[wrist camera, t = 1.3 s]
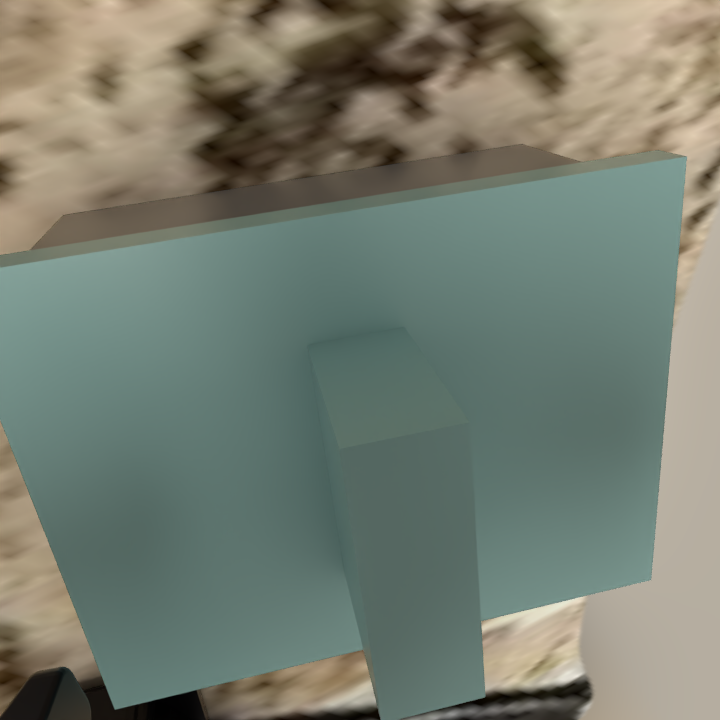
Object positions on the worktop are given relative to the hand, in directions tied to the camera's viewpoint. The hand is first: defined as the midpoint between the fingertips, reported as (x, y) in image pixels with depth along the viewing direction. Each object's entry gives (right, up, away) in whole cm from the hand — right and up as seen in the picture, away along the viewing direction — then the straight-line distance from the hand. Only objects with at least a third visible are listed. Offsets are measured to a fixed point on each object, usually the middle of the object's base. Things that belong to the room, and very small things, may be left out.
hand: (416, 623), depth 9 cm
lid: (-1, +2, +8) cm, 8 cm away
